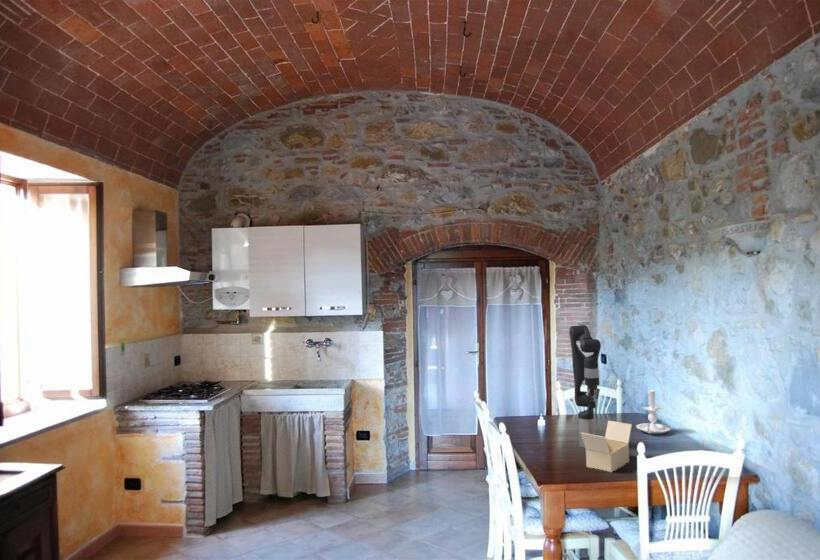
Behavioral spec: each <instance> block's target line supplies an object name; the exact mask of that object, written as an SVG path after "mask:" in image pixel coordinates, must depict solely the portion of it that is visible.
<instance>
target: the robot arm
mask: <svg viewBox="0 0 820 560" xmlns="http://www.w3.org/2000/svg"><path fill="white" fill-rule="evenodd" d="M568 332H569V340H570V346H571V356H572V357H571V359H572V371H573V381H574V402H575V405H576V406H577V407H584V408H587V409H585V410H583V411H580V412H579V411H578V413H577V416H578V417H577V419H578V422H577V423H578V442H579V443H578V446H579V447H581V448H584V449H586V448H585V445H584V442H583V439H582V436H581V433H587V434H592V435H596V430H595V411H594V410H595V409H596V407H597V404H596V402H597V400H598V399H599V395H600V392H601V389H600V388H598V386H600V371H599V356H600V355H599V354H600V353H601V346H602V345H601V341H600V340H599V339H596V338H594V337H592V336H591V332H590V329H589V327H588V326H587V325H585V324H581V325H571V326H570V327H569V331H568ZM577 342H579V345H580V348H579V346H578V344H577ZM584 353H586V354H587V353H593V354H591V355H588V356H585V354H584ZM583 382H584V385H586V387H587V388H586V391H584V390H583V391H582V390H581V388H582V385H583Z"/></svg>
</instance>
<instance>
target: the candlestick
mask: <svg viewBox="0 0 820 560" xmlns="http://www.w3.org/2000/svg"><path fill="white" fill-rule="evenodd" d="M648 403H649V406H643V407H642V409H643V410H647V411H649V414H648V415H647V419H648V421H650V422H646V423H639V424H636V425H635V427H636V428H637V430H638V429H639V431H642V432H643V433H648V434H651V435H653V434H654V435H658V434H660V435H661V434H664V433H667V432H668V431H671V427H670V426H668V425H665V424H660V423H656V422H657V420H658V415H657V413H656V412H658V411H662V409H663V408H662V407H659V406H655V405H656V392H655V390H654V389H652V390H651V389H650V390H648Z"/></svg>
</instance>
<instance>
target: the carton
mask: <svg viewBox="0 0 820 560" xmlns="http://www.w3.org/2000/svg"><path fill="white" fill-rule="evenodd" d="M606 441H607V444H608V447H609V451H610V454H609V453H604V452H600V451H595V450H590V449H586V448H585V460H586V461H585V463H586V468H589V469H593V468H594V470H598V469H599V470H598V471H602V470H603V472H606V471H607V472H606V473H610V472H611V474H612V473H613V471H614V472H615V471H617V470H618V468H619V469H620V468H622V467H623V466H625V465H627V464H628V463H630V448H629V447H630V444H628V443H623V442H618V441H617V442H616V441H611V440H607V439H606ZM626 463H627V464H626Z"/></svg>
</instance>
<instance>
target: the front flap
mask: <svg viewBox="0 0 820 560" xmlns="http://www.w3.org/2000/svg"><path fill="white" fill-rule="evenodd" d="M581 436H582V439H583V442H584V445H585V448H584V449H585V450H586V449H590V450H595V451H600V452H604V453H609V454H610V451H609V447H608V444H607V441H606V440H607V439H606V438H605V436H602V435H596V434H595V435H592V434H587V433H581Z"/></svg>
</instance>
